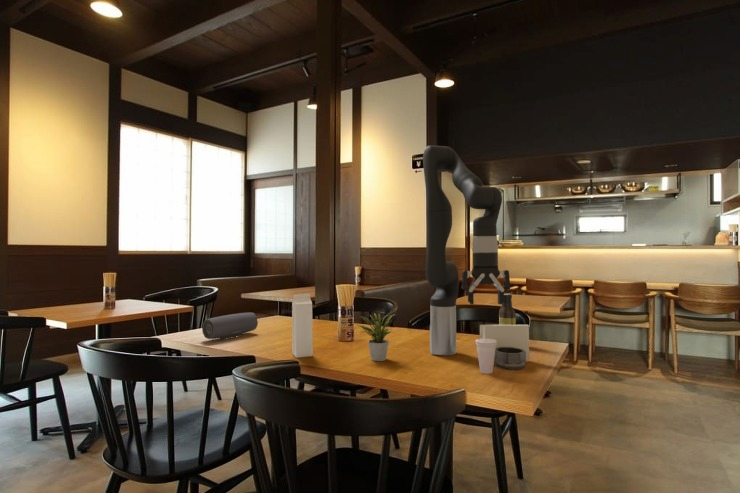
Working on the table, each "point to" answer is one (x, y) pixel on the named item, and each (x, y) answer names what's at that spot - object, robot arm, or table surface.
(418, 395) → the table surface
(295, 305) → the milk
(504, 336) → the mounting board
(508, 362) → the cup bracket
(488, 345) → the smoothie
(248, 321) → the bluetooth speaker
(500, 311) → the sauce bottle
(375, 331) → the house plant
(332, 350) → the table surface
